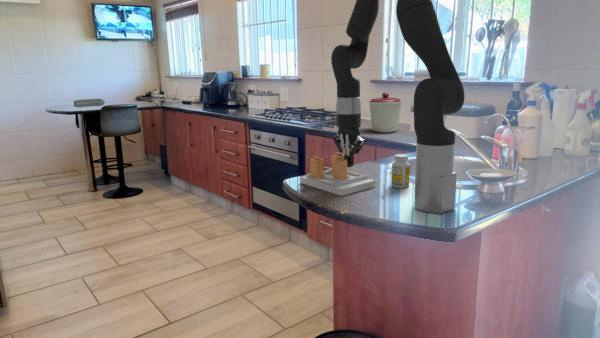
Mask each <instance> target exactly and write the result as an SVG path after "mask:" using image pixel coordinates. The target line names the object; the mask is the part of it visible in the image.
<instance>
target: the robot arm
mask: <svg viewBox="0 0 600 338" xmlns="http://www.w3.org/2000/svg"><path fill="white" fill-rule="evenodd" d="M379 7H380V1H379V0H356V1H355V3H354V7H353V9H352V13H351V15H350V18H349V21H348V23H347V26H346V31H345V33H346V36H348V37H349V38H351V40H350V44H338V45H337V46H335V47H334V49H333V50H332V53H331V67H332V70H333V75H334V79H335V83H336V103H335V105H336V106H335V107H336V115H335V117H336V120H335V121H336V128H338V130H337V134H336V135H333V136H332V140H333V141H334V144H335V145H336V147H337V149H338V151H339V152H338V153H341V154H342V155H344V159H345V160H347V168H352V167H353V166H354V164H355V163H354V162H355V161H354V160H355V159H354V155H356V154H359V153H360V151H361V149H362V148H363V147H364V145H365V144H366V141H367V140H366V139H365V138H362V137H361V132H360V127H361V126H362V101H361V82H360V79H359V78H358V77H355V76H353V73H352V70H353V69H358V68H360V67H361V66H362V65H364V62H365V61H366V58H367V54H368V48H369V40H370V35H371V33H372V31H373V28H374V25H375V23H376V21H377V17H378V14H379ZM395 11H396V19H397V22H398V26H399V29H400V32H401V35H402V37H403V39H404V40H405V42H406V44H407V45H408V46H409V47H410V49H411V50H412V51H413V52H414V53H415V54H416V56H417V57H418V58H419V59H420V60H421V61H422V63H423V64H424V65H425V67H426V70H427V72H428V75H429V78H424V79H422V80H420V81H419V83H418V84H417V85H416V88H415V90H414V95H413V128H414V133H415V135H416V152H415V153H416V154H415V176H414V177H415V178H414V205H413V206H414V208H415V209H416V210H418V211H421V212H425V213H430V214H431V213H433V214H438V215H439V214H440V215H441V214H442V215H443V214H445V213H446V212H447V213H448V212H450V211H452V210H453V211H454V210H455V207H456V194H457V193H456V190H457V173H456V172H454V162H455V161H454V160H455V145H456V144H455V143H456V133H455V131H453V130H452V129H448V128H447V127H446V126H445V123H444V116H446V115H452V114H455V113H458V112H460V111H461V109H462V108H463V106H464V103H465V95H466V94H465V89H464V86H463V83H462V81H461V78H460V76H459V74H458V71H457V69H456V67H455V65H454V63H453V60H452V58H451V56H450V53H449V50H448V48H447V47H448V46H447V45H446V41H445V37H444V36H443V33H442V30H441V27H440V24H439V19H438V16H437V13H436V9H435V6H434V3H433V1H432V0H397V1H396V7H395Z"/></svg>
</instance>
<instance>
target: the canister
mask: <svg viewBox="0 0 600 338" xmlns="http://www.w3.org/2000/svg"><path fill="white" fill-rule="evenodd" d="M381 96H382V97H376V98H375V97H374V98H371V99H370V100H369V101H368V104H369V112H370V121H371V122H370V123H371V128H372V131H374V132H376V133H382V134H383V133H385V134H387V133H388V134H389V133H394V132H396V131H397V130H398V127H399V121H400V117H401V116H400V115H401V109H402V107H401V106H402V103H403V100H401V99H400V98H398V97H389V96H390V95H389V92H383V93H381Z"/></svg>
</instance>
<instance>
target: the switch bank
mask: <svg viewBox="0 0 600 338" xmlns="http://www.w3.org/2000/svg"><path fill="white" fill-rule="evenodd" d="M300 178H301V180H300V181H301V182H300V183H301V184H304V185H306V186H309V187H313V188H316V189H319V190H321V191H325V192H328V193H330V194H335V195H338V196H341V197H343V196H347V195H351V194H354V193H359V192H361V191H364V190H369V189H371V188H375V187H376V179H375V180H374V179H372V178H371V179H370V178H369V174H365V175H364V174H362V173H361V174H360V173H357V172H353V171H349V170H347V179H344V180H340V179H337V178H334V172H332V168H330V169H328V170H324V178H321V179H317V178H313V177H310V173H308V174H306V175H304V176H300Z"/></svg>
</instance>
